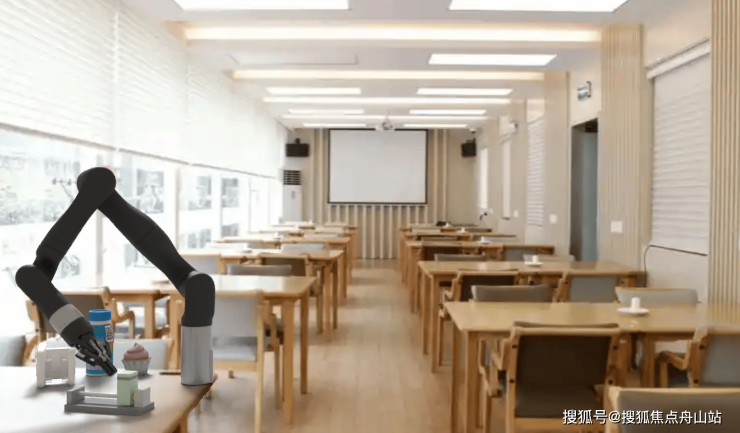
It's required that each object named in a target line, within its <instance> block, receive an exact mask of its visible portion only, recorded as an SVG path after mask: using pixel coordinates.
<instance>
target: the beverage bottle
mask: <svg viewBox="0 0 740 433" xmlns="http://www.w3.org/2000/svg"><path fill="white" fill-rule="evenodd" d="M88 321H89V323H90V324H91V325H92V326H93V327H94V332H93V334H94V335H95V336H96V337H97V338H98V339H99V340H100V341H101V342H103V343H104V342H105V341H108V342H109V346H110V350H111V354H112V357H111V358H110V362H111V363H112V364H113V365H114V343H115V339H114V336H113V334H114V328H113V325H112V324H111V323H110V322H111V321H112V311H111V309H106V308H105V309H104V308H103V309H92V310H89V311H88ZM85 366H86V367H85V374H86V375H87V376H89V377H105V375H106V376H108V375H107V374H106V373H105V371H104V370H103V369H102V368H101V367H98V366H95V367H93V366H91V365H90V364H88V363H86V362H85Z"/></svg>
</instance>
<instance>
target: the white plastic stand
mask: <svg viewBox="0 0 740 433" xmlns="http://www.w3.org/2000/svg"><path fill="white" fill-rule="evenodd" d="M75 355H76V347H73V348H71V347H70V346H69V345H68V347H48V345H47V343H46V342H42V343H39V345H37V347H36V350H35V355H34V356H35V357H34V358H35V359H36V363H35V376H36V386H37V388H40V389H42V388H44V387H45V385H46V381H47V382H48V381H50V382H52V381H53V380H61V381H64V380H67V382H68V385H69V386H70V387H71V386H73V385H74V384H75V383H76V382H75V381H76V356H75Z"/></svg>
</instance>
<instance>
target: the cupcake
mask: <svg viewBox="0 0 740 433" xmlns="http://www.w3.org/2000/svg"><path fill="white" fill-rule="evenodd" d="M122 356H123V358H121V359H120V360H121V363H122V364H123V366H124V371H125V370H128V371H138V376H144V375H146V374H148V370H149V368H150V367H149V366H150V363H151V360H152V356H151V357H150V353H149V351H148V350H147V349H146V348H145V347H144V346H143V345H142V344H141V343H138V342H135V343H134V345H133V346H131V347H129V348H127V349H126V351H125V352H124V353H123V355H122Z"/></svg>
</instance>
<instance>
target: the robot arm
mask: <svg viewBox="0 0 740 433" xmlns="http://www.w3.org/2000/svg"><path fill="white" fill-rule="evenodd" d="M75 184H76V189H77V194H76V196H75V198H74V199H73V201H72V202H71V203H70V205H69V206H68V208H67V209H66V210H65V212H63V214H62V215H61V216H60V217H59V218H58V219H57V220H56V222H55V223H54V224H53V225H52V226H51V228H50V229H49V230H48V232H47V233H46V235H45V236H44V237H43V239H42V240H41V241H40V243H39V245H38V246H37V248H36V250H35V258H34V261H33V262H32V264H24V265H22V266H20V267H19V268H18V269H17V271H15V272H16V273H15V275H14V279H15V280H14V281H15V284H16V286H17V287H18V288H19V289H20V290H21V292H22V293H23V294H24V295H26V297H27V298H29V300H30V301H32V303H34V304H35V305H36V307H37V308H38V310H39V312H41V314H42V316H44V318H45V319H46V320H47V321H48V322H49V323H50V325H51V326H52V328H53V329H54V331H56V333H57V334H58V335H59V336H60V337H61V338H62V339H63V341H64V342H65V343H66V344H67V345H68V347H69V346H70V347H71V348H73V347H75V350H76V351H77V353H75V358H77V359H78V360H80V361H82V362H84V363H85V364H86V363H88V364H90V365H91V366H93V367H95V366H98V367H101V368H102V369H103V370H104V371H105V373H106V374H107V375H106V376H108V377H109V378H111V377H113V376H115V375H117V373H118V372H119V371H118V369H117V367H116V366H115V365H114V363H113V364H112V363H111V362H110V358H111V357H112V354H111V350H110V346H109V342H108V341H105V342H104V343H103V342H101V341H100V340H99V339H98V338H97V337H96V336H95V335H94V334H93V332H94V327H93V326H92V325H91V324H90V323H91V322H89V319H87V317H85V315H83V314H82V312H81V311H80V310H79V309H78V308H77V307H76V306H74V305H73V304H72V303H71V301H70V300H69V299H68V298H67V297H66V296H65V294H63V293H62V292H61V291H60V290H59V289H58V288H57V287H56V286H55V285H54V283H53V280H54V277H55V276H56V272H57V270H58V269H59V266H60V264H61V262H62V261H63V259H64V258H65V256H66V254H68V252H69V250H70V249H71V247H72V245H73V244H74V243H75V241H76V239H77V238H78V236H79V235H80V233H81V232H82V230H83V228H85V226H86V224H87V223H88V222H89V220H90V219H91V217H92V216H93V215H94V214H95V212H96V211H99V212H100V213H101V214H103V215H104V216H105V217H106V218H107V219H108V220H109V221H110V223H112V225H113V226H114V227H115V228H116V229H117V230H118V231H119V232H120V234H121V235H122V236H123V237H124V238H125V239H126V240H127V241H128V242H129V243H130V244H131V245H132V246H133V247H134V248H135V249H136V250H137V251H138V252H139V253H140V254H141V255H142V256H143V257H144V258H145V259H146V260H147V261H148V262H150V264H152V265H153V266H154V267H155V268H157V269H158V270H159V271H161V273H163V275H164V276H165V277H166V278H167V279H168V281H170V283H171V284H172V285H173V286H174V288H175V289H176V290H177V292H178V293H179V294H180V295H181V297H183V299H184V309H183V310H184V311H183V314H182V315H181V318H180V383H181V384H183V385H189V386H199V385H206V384H212V383H213V384H214V351H213V319H214V316H215V312H216V311H215V309H216V308H215V307H216V284H215V280H214V279H213V277H212V276H211V275H209V274H208V273H205V272H202V271H199V270H197V269H196V268H195V267H193V266H192V265H191V264H190V263H189V262H188V261H187V260H185V259H184V258H183V256H181V254H180V253H179V252H178V249H177V248H176V246H175V244H174V243H173V241H172V240H171V238H170V237H169V236H168V234H167V233H166V232H165V231H164V230H163V229H162V228H161V227H160V226H159V224H158V223H156V221H155V220H154V219H153V218H151V217H150V216H149V215H147V214H146V212H143V211H142V210H140V209H138V208H137V207H135V206H133V205H132V204H131V203H130V202H128V201H127V200H126V199H125V198H124V197H123V196H122V195H121V194H120V193H119V192H118V191H117V189H116V187H117V178H116V175H115V173H114V172H113V171H112V170H111V169H110V168H107V167H106V166H101V165H100V166H99V165H98V166H93V167H90V168H87V169H85V170H83V171H82V172H81V173H79V175H78V176H77V178H76V183H75Z"/></svg>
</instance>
